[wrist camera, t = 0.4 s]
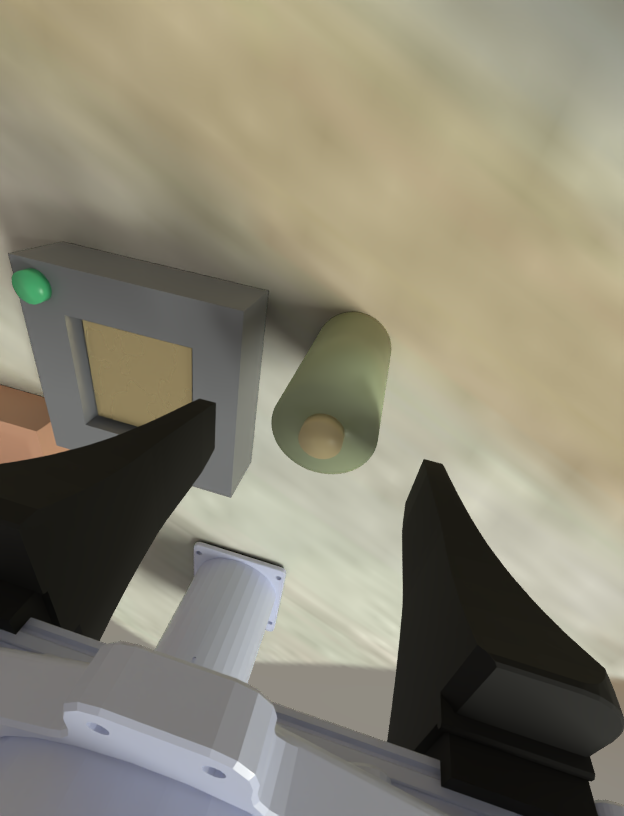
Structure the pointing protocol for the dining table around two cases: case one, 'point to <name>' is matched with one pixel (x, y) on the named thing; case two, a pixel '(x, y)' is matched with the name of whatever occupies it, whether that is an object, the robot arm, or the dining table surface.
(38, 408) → the tray
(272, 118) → the dining table surface
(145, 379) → the tan square tile
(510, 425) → the dining table surface
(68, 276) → the frame
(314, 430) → the olive cell
